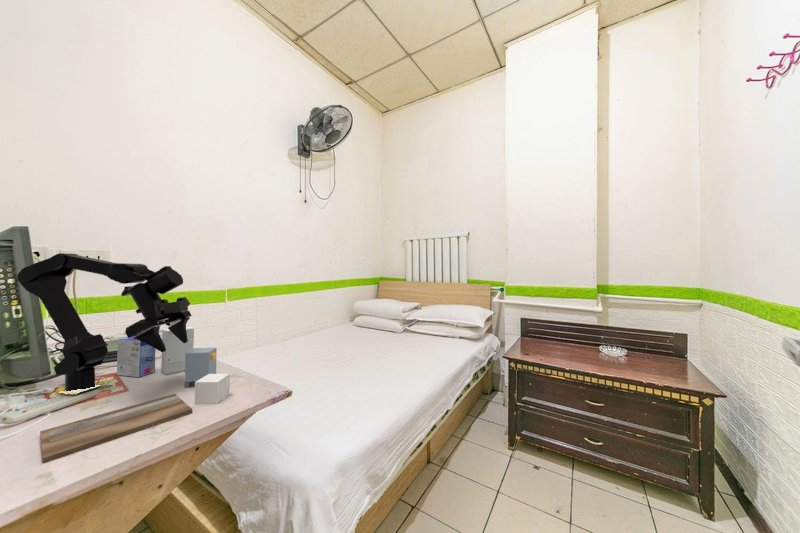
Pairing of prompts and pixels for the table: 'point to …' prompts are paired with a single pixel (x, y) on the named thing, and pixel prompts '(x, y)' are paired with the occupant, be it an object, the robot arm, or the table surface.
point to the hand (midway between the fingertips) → (175, 346)
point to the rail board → (109, 426)
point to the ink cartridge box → (135, 358)
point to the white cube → (212, 388)
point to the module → (199, 364)
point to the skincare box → (175, 351)
